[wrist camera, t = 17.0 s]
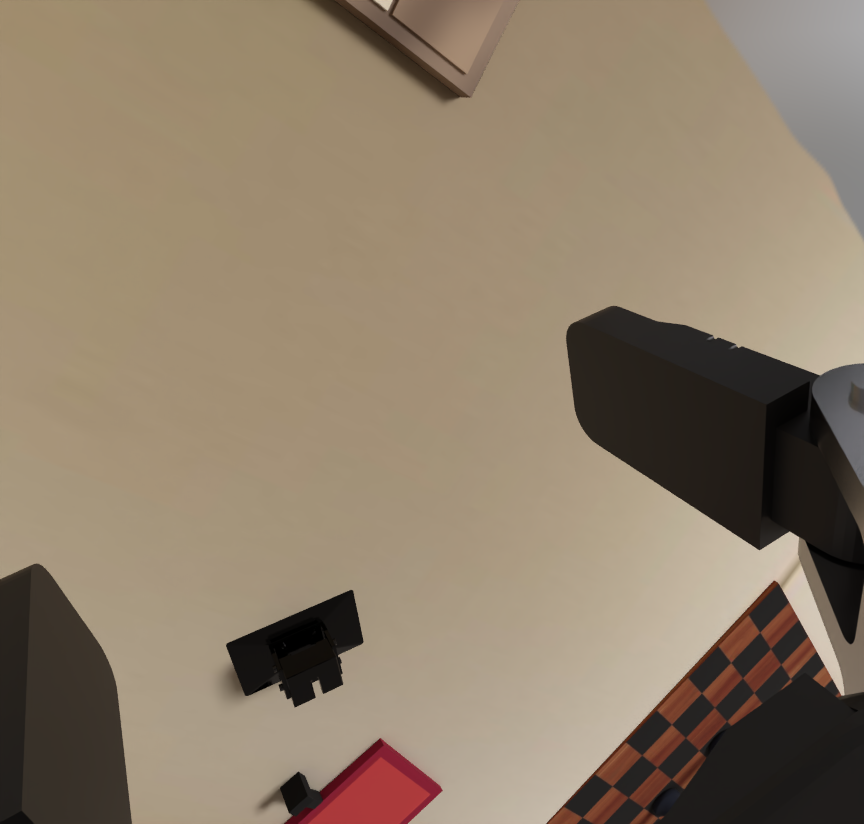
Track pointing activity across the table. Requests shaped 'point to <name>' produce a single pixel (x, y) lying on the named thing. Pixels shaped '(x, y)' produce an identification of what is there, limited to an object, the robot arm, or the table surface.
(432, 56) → the board
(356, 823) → the red board with handle
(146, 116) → the table surface
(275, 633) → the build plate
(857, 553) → the robot arm
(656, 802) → the chessboard
